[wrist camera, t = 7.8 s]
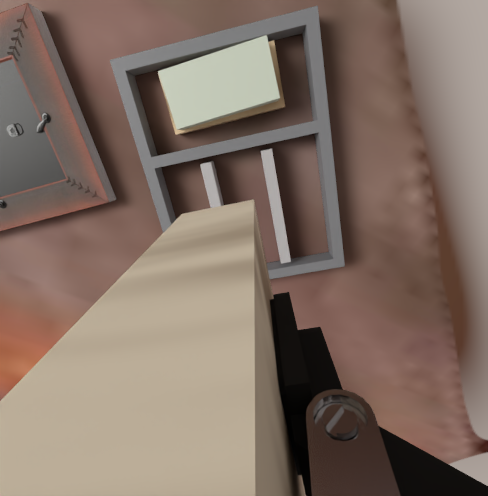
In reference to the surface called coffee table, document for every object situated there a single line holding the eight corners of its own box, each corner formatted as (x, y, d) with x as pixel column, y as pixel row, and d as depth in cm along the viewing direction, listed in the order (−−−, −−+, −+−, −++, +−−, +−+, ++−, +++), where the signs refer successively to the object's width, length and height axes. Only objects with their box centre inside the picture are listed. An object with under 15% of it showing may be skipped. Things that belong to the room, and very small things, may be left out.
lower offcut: (164, 77, 27) (157, 73, 25) (272, 47, 26) (273, 40, 24) (180, 135, 29) (175, 134, 27) (283, 108, 28) (285, 106, 26)
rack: (120, 65, 26) (109, 60, 24) (312, 16, 25) (317, 5, 23) (186, 285, 33) (182, 294, 31) (339, 258, 32) (344, 266, 30)
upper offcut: (164, 76, 25) (157, 71, 23) (265, 43, 24) (266, 34, 22) (182, 130, 27) (176, 129, 25) (278, 100, 26) (279, 97, 24)
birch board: (181, 213, 12) (-761, 1183, 1) (254, 199, 12) (254, 1398, 1) (225, 368, 15) (135, 1106, 3) (285, 359, 14) (399, 1135, 3)
